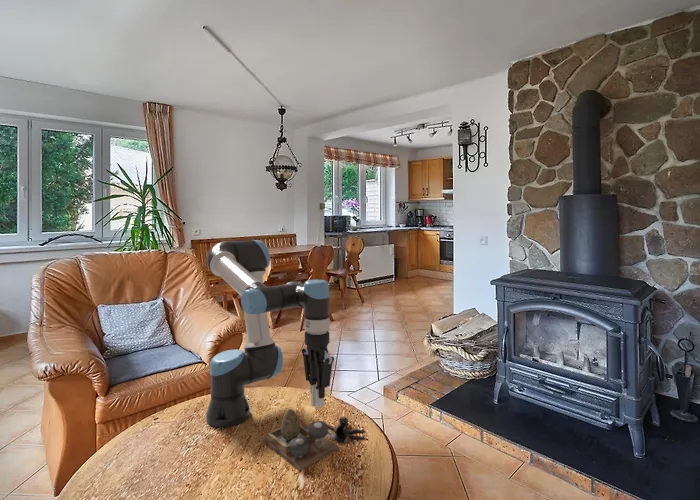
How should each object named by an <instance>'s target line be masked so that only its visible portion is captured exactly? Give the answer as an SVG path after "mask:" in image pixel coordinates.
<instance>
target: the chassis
mask: <svg viewBox="0 0 700 500" xmlns="http://www.w3.org/2000/svg"><path fill="white" fill-rule="evenodd" d="M299 424H300V431H299V435H298V436H297V438H295V439H293V440H291V441H287V440H286V439H284V438H283V436H282V433H281V426H280V427H278V428H276V429H274V430H272V431H269V432H267V433H266V436H265V437H263V438H262V443H264V444H265V445H266V446H268V448H270V449H271V450H272V451H274V452H275V453H276V454H277V455H279V456H280V457H282V458H283V459H284V460H286V461H287V462H288V463H289V464H291V465H292V466H293V467H294V468H296V470H298V471H302V470H304V469H306V468H308V467H309V466H311V465H313V464H315V463H317V462H318V461H320V460H322V459H324V458H325V457H327V456H330V455H331V454H333V453H335V452H337V451H339V450H340V446H339V445H338V444H336V443H335V442H333V441H332V440H330V439H329V438H327V437H326V436H325V437H323V438H312V437H310V436H309V434H308V426H309V425H306V424H304V423H303V422H301V421H299Z"/></svg>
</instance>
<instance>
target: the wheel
mask: <svg viewBox="0 0 700 500" xmlns="http://www.w3.org/2000/svg"><path fill="white" fill-rule="evenodd" d="M327 424H328V423H326V422H325V421H321V420H320V421H319V420H317V421H312V422H311V423H309V424H308V425H307V426H308V434H309V436H310V437H312V438H323V437H325V438H326V437H327V436H328V435H327V434H328V431H329V428H328V425H329V424H328V425H327Z"/></svg>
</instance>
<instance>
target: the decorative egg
mask: <svg viewBox="0 0 700 500" xmlns="http://www.w3.org/2000/svg"><path fill="white" fill-rule="evenodd" d="M299 422H300V420H299V418H298V415H297V412H295V410H294V409H291V408H290V409H287V410H286V411H285V413H284V415H283V417H282V419H281V424H280V427H281V433H282V436H283V438H284V439H286V440H287V441H291V440H293V439H295V438H297V436H298V435H299V431H300V424H299Z"/></svg>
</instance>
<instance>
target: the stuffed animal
mask: <svg viewBox="0 0 700 500" xmlns="http://www.w3.org/2000/svg"><path fill="white" fill-rule="evenodd" d="M338 422H339V423H338V424H337V427H333V426H332V425H331V424H328V423H326V424H327V425H328V434H327V435H326V436H328V437H329V438H330V439H332V440H333V441H334V442H336V443H344V444H346V445H347V444H349V443H350V442H351V440H359V441H361V440H363V439H364V438H365V437H366V435H365V434H361V433H362V432H364V431H365V428H363V427H362V428H361V429H358V428H353V429H350V430H349V427H348V426H349V418H348V417H346V416H344V415H342V416H341V417H340V418H339V420H338ZM329 430H331V431H329ZM332 431H333V432H332ZM334 433H335V434H334ZM354 434H361V435H354ZM343 437H344V438H343Z"/></svg>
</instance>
